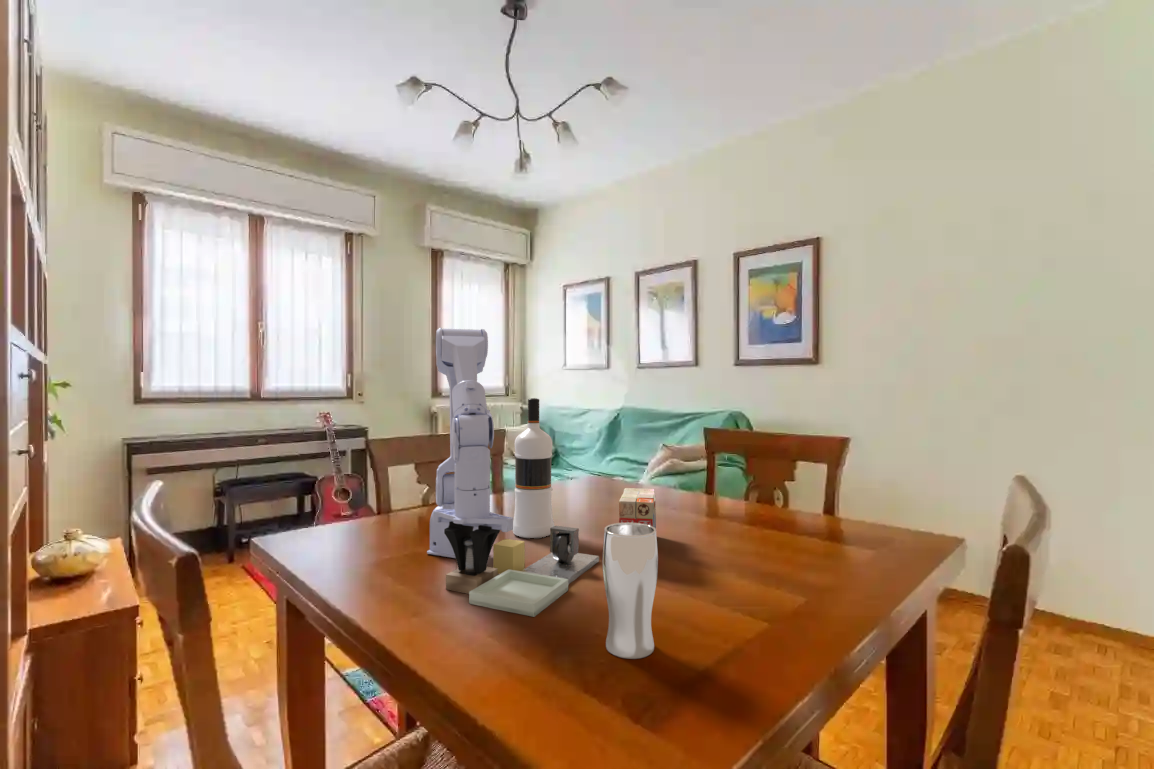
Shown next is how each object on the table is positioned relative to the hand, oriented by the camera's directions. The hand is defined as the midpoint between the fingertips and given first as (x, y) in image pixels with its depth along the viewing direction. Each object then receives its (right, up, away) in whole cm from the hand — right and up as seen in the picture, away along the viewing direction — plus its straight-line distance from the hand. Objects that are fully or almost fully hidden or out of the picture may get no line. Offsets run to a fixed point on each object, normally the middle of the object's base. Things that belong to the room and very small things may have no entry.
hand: (472, 570), depth 91 cm
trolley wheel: (+14, -3, +8) cm, 16 cm away
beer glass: (+24, -3, -21) cm, 32 cm away
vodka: (+8, -3, +32) cm, 33 cm away
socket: (0, -3, 0) cm, 3 cm away
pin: (0, -3, 0) cm, 3 cm away
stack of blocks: (+30, -3, +20) cm, 36 cm away
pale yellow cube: (+5, -3, +7) cm, 10 cm away
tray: (+8, -3, -5) cm, 10 cm away
